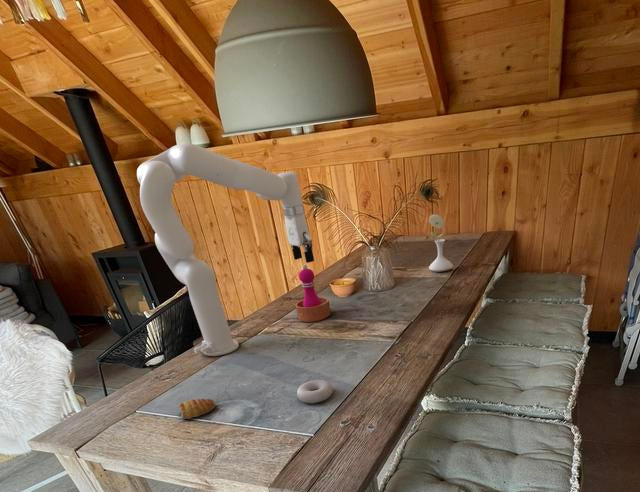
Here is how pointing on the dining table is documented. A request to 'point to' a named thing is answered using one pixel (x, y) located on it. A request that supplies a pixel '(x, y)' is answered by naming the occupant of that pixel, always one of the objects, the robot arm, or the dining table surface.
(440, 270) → the flower in vase
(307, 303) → the pepper mill
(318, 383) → the donut
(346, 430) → the dining table surface
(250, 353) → the dining table surface
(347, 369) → the dining table surface
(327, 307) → the bowl
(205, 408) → the pastry
